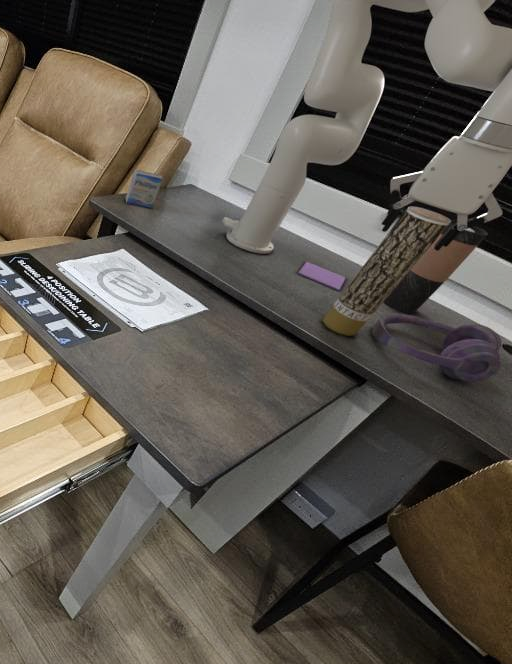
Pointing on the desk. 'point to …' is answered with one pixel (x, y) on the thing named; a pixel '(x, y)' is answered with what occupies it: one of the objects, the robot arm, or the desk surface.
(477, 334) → the headphones
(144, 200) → the medicine box
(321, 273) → the mat
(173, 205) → the desk surface
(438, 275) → the travel mug
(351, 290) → the paper tube
